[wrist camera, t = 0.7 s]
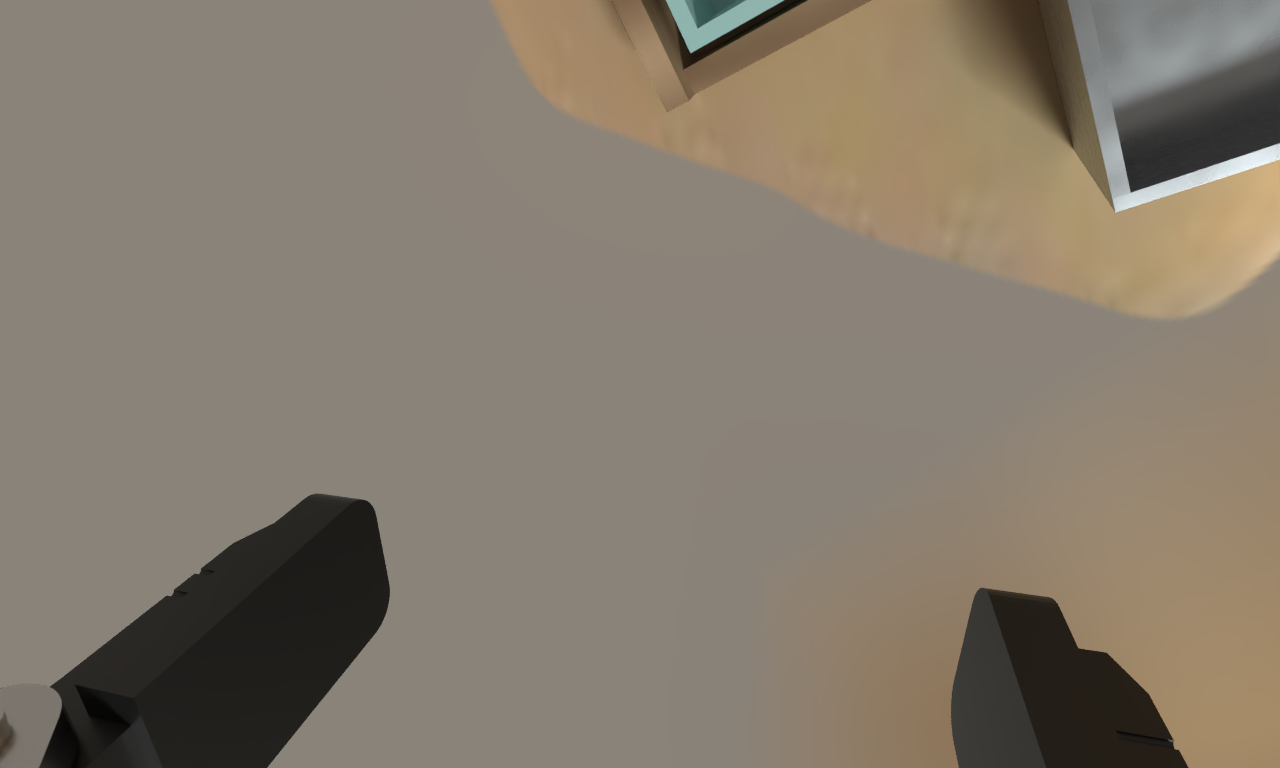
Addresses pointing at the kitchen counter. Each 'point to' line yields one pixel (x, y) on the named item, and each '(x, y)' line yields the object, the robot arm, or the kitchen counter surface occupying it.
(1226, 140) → the open metal box
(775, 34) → the bay
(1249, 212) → the kitchen counter surface
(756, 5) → the box
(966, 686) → the robot arm
